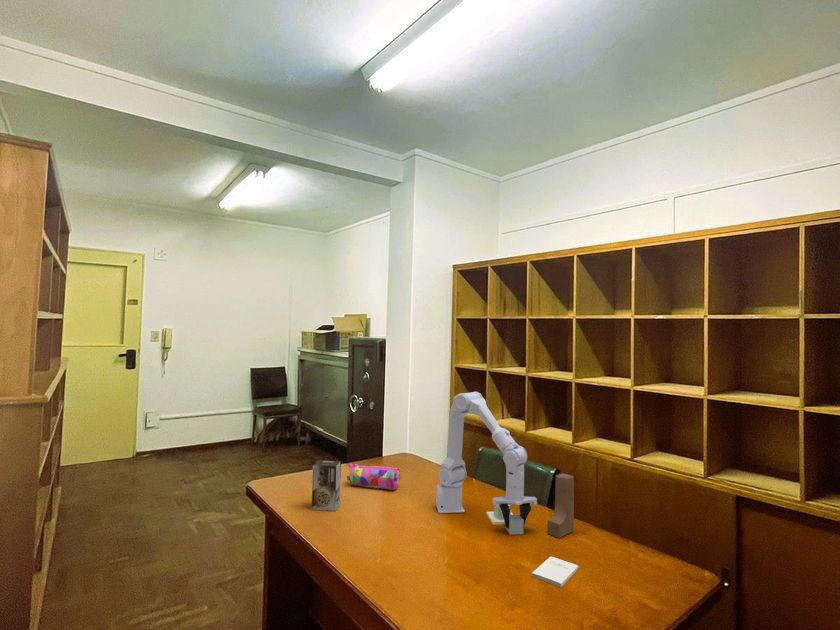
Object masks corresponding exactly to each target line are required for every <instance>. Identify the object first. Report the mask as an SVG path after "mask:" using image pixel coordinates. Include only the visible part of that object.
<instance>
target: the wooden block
mask: <svg viewBox="0 0 840 630" xmlns="http://www.w3.org/2000/svg"><path fill="white" fill-rule="evenodd" d="M554 491H555V493H554V495H555V497H554V498H555V500H554V501H555V503H554V505H555V506H554V510H553V511H554V512H553V514H552V516H551V517H549V518H548V519H547V524H546V525H547V528H546V530H547V531H546V532H547V534H548V535H551V536H552V537H555V538H557V539H560V538H562V537H564V536H565V537H566V536H567V535H568V534H570V533H573V532H574V531H575V529H574V527H575V526H574V525H575V522H574V521H575V520H574V518H575V477H574V475H571V474H567V473H559V474H556V475H555V490H554Z"/></svg>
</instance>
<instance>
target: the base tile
mask: <svg viewBox="0 0 840 630" xmlns="http://www.w3.org/2000/svg"><path fill="white" fill-rule="evenodd" d="M485 514H486V516H487V518H488V519H489V521H490V522H491V524H492V525H494V526H495V525H496V526H497V525H498V526H499V525H504V526H505V522H504V519H499V520H498V519H497V517H496V516H495V515H494V511H486V513H485ZM511 515H514V514H513V512H512V511H511Z"/></svg>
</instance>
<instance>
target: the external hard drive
mask: <svg viewBox="0 0 840 630" xmlns="http://www.w3.org/2000/svg"><path fill="white" fill-rule="evenodd" d="M578 570H579V565H577V564H575V563H572V562H569V561H566V560H563V559H560V558H557V557H554V556H549V557H548V558H547V559H546V560H545V561H543V562H542V563H541V564H540V565H539V566H538V567H537V568H536V569H534V570H533V571H532V572H531V577H532V578H535V579H537V580H540V581H543V582H546V583H548V584H550V585H553V586H556V587H558V588H562V587H563V586H565V584H567V582H568V581H569V580H570V579H571V577H572V576H573V575H575V573H577V571H578Z"/></svg>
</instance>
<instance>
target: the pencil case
mask: <svg viewBox="0 0 840 630" xmlns="http://www.w3.org/2000/svg"><path fill="white" fill-rule="evenodd" d="M348 467H350V472H349V475H346V480H347V481H349V485H350V486H357V485H358V486H357V487H364V486H365V487H364V488H372V487H373V488H374V489H379V488H381V490H382V489H383V490H392V491H395V490H397V489H398V488H399V487H398V486H399V484H400V482H401V472H400V469H399V468H398V467H391V466H389V467H387V466H383V465H380V466H379V465H371V466H370V465H368V466H367V465H360V464H357V463H354V464H352V462H350V463H349V464H348ZM373 488H372V489H373Z"/></svg>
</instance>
